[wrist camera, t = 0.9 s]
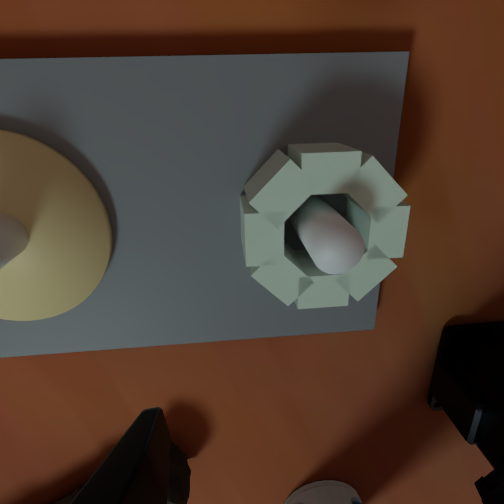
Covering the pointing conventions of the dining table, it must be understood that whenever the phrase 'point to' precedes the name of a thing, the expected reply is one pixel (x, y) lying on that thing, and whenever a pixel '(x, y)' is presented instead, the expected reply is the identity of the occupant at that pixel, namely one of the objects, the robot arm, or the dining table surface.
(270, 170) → the ring
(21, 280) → the rod board
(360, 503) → the spray can
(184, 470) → the hand tool
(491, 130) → the dining table surface
